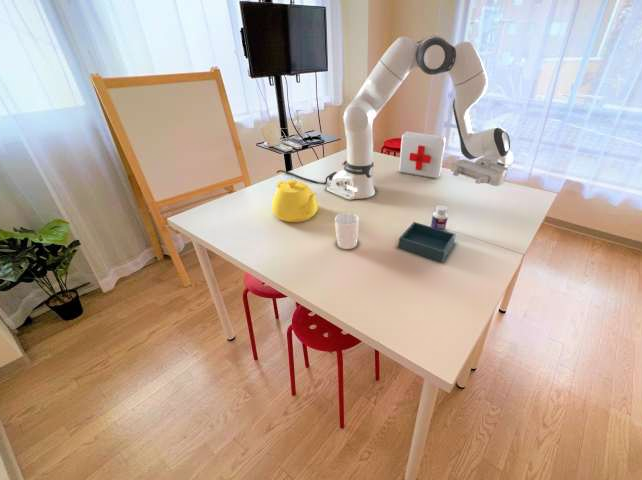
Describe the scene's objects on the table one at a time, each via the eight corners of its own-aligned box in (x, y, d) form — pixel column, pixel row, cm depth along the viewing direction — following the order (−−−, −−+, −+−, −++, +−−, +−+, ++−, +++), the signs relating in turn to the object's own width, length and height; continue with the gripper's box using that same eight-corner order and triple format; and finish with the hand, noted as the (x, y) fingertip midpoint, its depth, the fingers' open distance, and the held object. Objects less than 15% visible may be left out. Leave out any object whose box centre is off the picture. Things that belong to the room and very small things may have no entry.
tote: (398, 247, 105) (399, 237, 102) (412, 231, 114) (413, 221, 111) (442, 262, 99) (444, 252, 96) (453, 243, 108) (455, 234, 105)
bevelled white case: (397, 173, 159) (400, 134, 148) (401, 168, 166) (405, 130, 154) (437, 180, 153) (443, 140, 142) (440, 175, 159) (447, 135, 148)
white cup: (355, 251, 102) (355, 226, 96) (332, 248, 103) (331, 223, 98) (360, 239, 109) (361, 214, 103) (339, 236, 110) (338, 211, 104)
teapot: (335, 218, 120) (333, 185, 112) (297, 234, 110) (293, 200, 102) (298, 197, 134) (294, 167, 126) (261, 210, 124) (255, 178, 116)
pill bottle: (436, 236, 111) (440, 212, 106) (427, 229, 115) (431, 206, 110) (447, 232, 113) (452, 209, 108) (438, 225, 117) (442, 203, 112)
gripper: (463, 153, 123) (443, 161, 115) (512, 167, 111) (493, 177, 103) (460, 168, 127) (440, 177, 119) (507, 183, 115) (489, 194, 107)
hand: (465, 177), depth 111 cm, fingers open, 8 cm apart
